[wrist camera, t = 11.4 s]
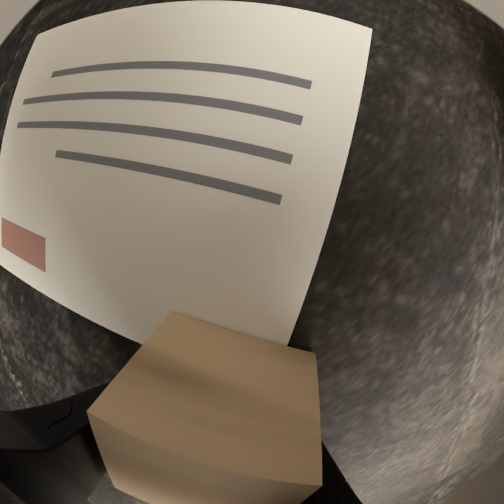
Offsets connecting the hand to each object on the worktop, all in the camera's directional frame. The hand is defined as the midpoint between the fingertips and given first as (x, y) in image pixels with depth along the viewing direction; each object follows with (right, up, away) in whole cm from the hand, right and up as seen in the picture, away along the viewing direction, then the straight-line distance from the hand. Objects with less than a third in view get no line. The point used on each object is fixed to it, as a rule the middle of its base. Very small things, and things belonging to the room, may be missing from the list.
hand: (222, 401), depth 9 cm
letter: (-4, +9, 0) cm, 10 cm away
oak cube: (0, 0, +1) cm, 1 cm away
